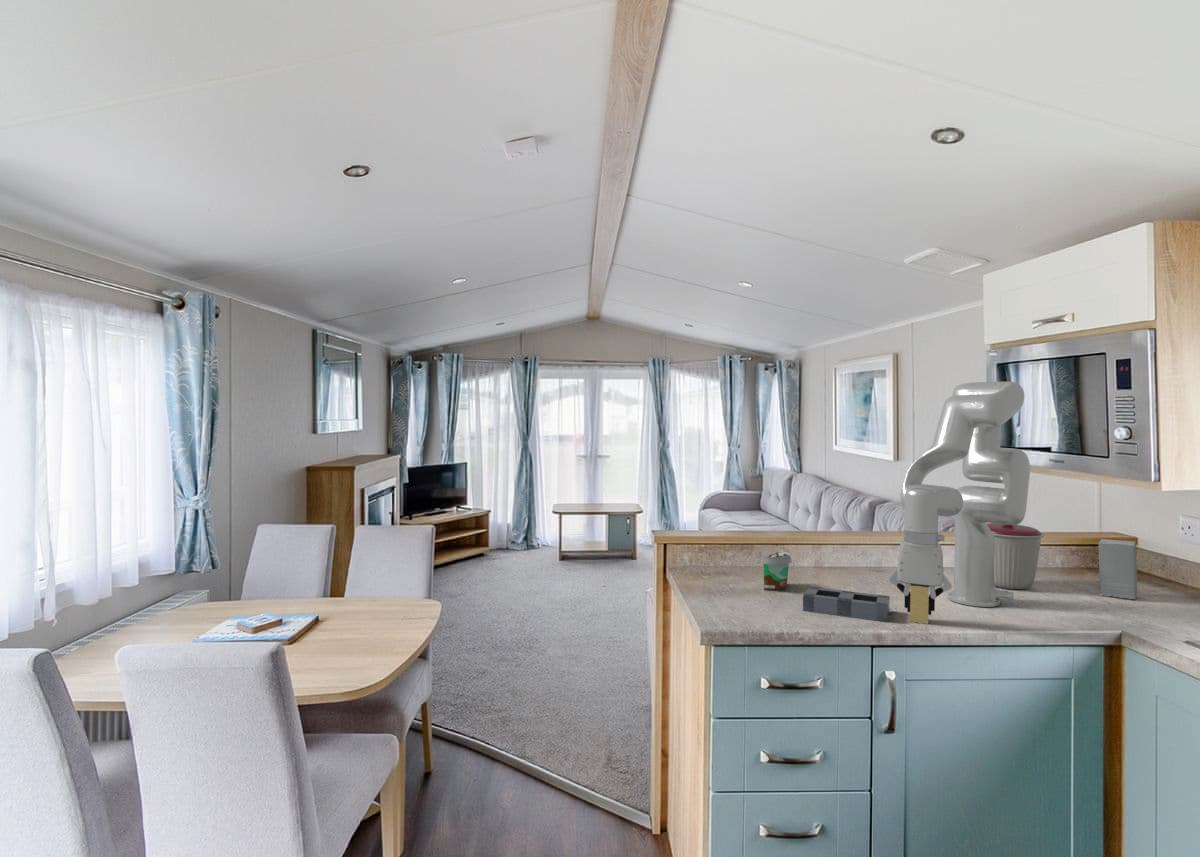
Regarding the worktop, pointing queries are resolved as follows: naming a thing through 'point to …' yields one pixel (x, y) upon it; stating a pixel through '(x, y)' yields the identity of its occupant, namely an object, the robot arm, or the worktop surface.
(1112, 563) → the skincare box
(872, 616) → the grey peg board
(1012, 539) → the canister
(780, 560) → the food container
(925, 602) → the brass peg
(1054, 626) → the worktop surface
